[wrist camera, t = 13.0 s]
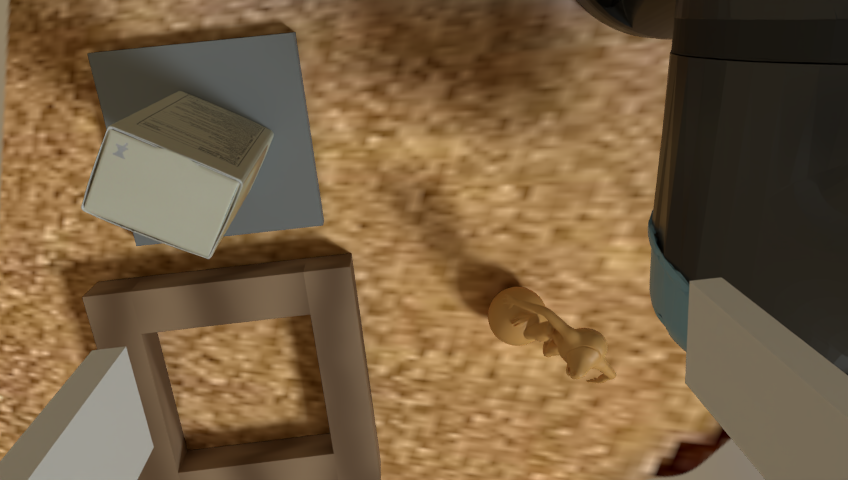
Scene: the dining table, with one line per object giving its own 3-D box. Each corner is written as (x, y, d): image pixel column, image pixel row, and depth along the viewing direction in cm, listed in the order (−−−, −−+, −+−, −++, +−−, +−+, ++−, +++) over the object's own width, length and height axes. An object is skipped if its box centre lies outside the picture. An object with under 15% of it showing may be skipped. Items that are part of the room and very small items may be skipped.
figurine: (450, 285, 46) (475, 375, 35) (514, 226, 45) (560, 299, 34) (529, 357, 49) (576, 463, 37) (591, 302, 48) (659, 394, 36)
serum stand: (351, 253, 45) (350, 266, 43) (380, 460, 51) (380, 482, 48) (97, 281, 44) (82, 297, 42) (155, 488, 50) (145, 512, 48)
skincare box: (155, 152, 41) (69, 209, 29) (179, 87, 40) (99, 120, 28) (254, 194, 42) (209, 265, 31) (280, 133, 41) (244, 182, 29)
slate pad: (295, 32, 40) (293, 32, 39) (323, 220, 44) (322, 225, 43) (94, 52, 40) (87, 53, 39) (141, 240, 44) (136, 246, 43)
